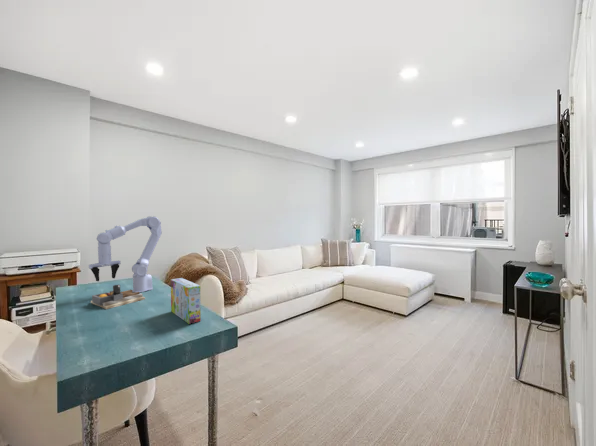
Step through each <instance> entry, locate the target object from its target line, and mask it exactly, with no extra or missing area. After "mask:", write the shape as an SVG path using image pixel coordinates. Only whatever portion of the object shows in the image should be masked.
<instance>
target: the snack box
mask: <svg viewBox="0 0 596 446" xmlns="http://www.w3.org/2000/svg"><path fill="white" fill-rule="evenodd" d="M201 304H202V302H201V285H199V284H198V283H196V282H195V283H194V282H193V281H190V280H187V279H185V278H183V277H179V278H173V279H170V308H171V309H170V312H172V314H174V315H175V316H176V317H179V318H180V319H181V320H183V321H184V322H185V323H187V324H188V325H191V323H192V324H195V322H196V323H200V322H201V321H202V320H201V319H202V318H201V315H202V314H201V313H202V312H201V308H202V307H201ZM199 321H200V322H199Z"/></svg>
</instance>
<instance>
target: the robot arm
mask: <svg viewBox="0 0 596 446" xmlns="http://www.w3.org/2000/svg"><path fill="white" fill-rule="evenodd" d="M139 227H147V228H148V230H149V231H150V232H151V233H150V236H149V239H148V240H147V242H146V245H145V247H144V249H143V250H142V252H141V254H140V257H139V258H138V259H137V261H136V262H135V264H133V265H132V267H131V271H132V272H133V274H132V289H131V290H132V293H135V292H140V293H143V292H146V291H152V290H154V287H153V277H152V275H151V274H149V273H148V271H149V270H148V267H149V263H150V259H151V257H152V255H153V252H154V250H155V248H156V246H157V244H158V242H159V240H160V238H161V236H162V232H163V231H162V221H161V219H159V218H158V217H157V216H154V215H153V216H152V215H151V216H150V215H149V216H146V217H143V218H140V219H137V220H135V221H133V222H130V223H128V224H126V225H114V227H113V228H110V229H109V230H108V229H106V230H104V231H105V232H100V233H99V234H97V237H96V240H97V257H98V259H97V260H98V262H97V263H92V264H88V269H90V270H91V272H92V273H93V275H94V278H95V282H100V268H104V267H109V266H110V268H111V278H112V279H115V278H116V275H117V272H118V270H119V268H120V265H121V260H112V246H111V241H112V240H116V239H118V238H120V237H123V236H125V235H126V233H127V232H129V231H131V230H134V229H136V228H139ZM147 273H148V274H147Z"/></svg>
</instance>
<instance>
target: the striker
mask: <svg viewBox="0 0 596 446" xmlns="http://www.w3.org/2000/svg"><path fill="white" fill-rule="evenodd" d="M120 292H121V284H114V285H112V290H110V291H109V292H107V296H111V300H114V301H115V300H119V299H123V293H120Z"/></svg>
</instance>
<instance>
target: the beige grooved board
mask: <svg viewBox="0 0 596 446" xmlns="http://www.w3.org/2000/svg"><path fill="white" fill-rule="evenodd" d="M132 290H133V289H128V290H124V291H120V293H123V299H119V300H115V301H114V300H112V301H108V302H104V303H103V305H98V304H95V303H93V302H92V300H90V304H92V305H95V306H97V307H99V308H102V309H105V310H109V309H113V308H115V307H116V308H117V307H121V306H125V305H129V304H133V303H136V302H140V301H143V300H144V301H145V300H146V297H145V296H143V293H141V292H132Z"/></svg>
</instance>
